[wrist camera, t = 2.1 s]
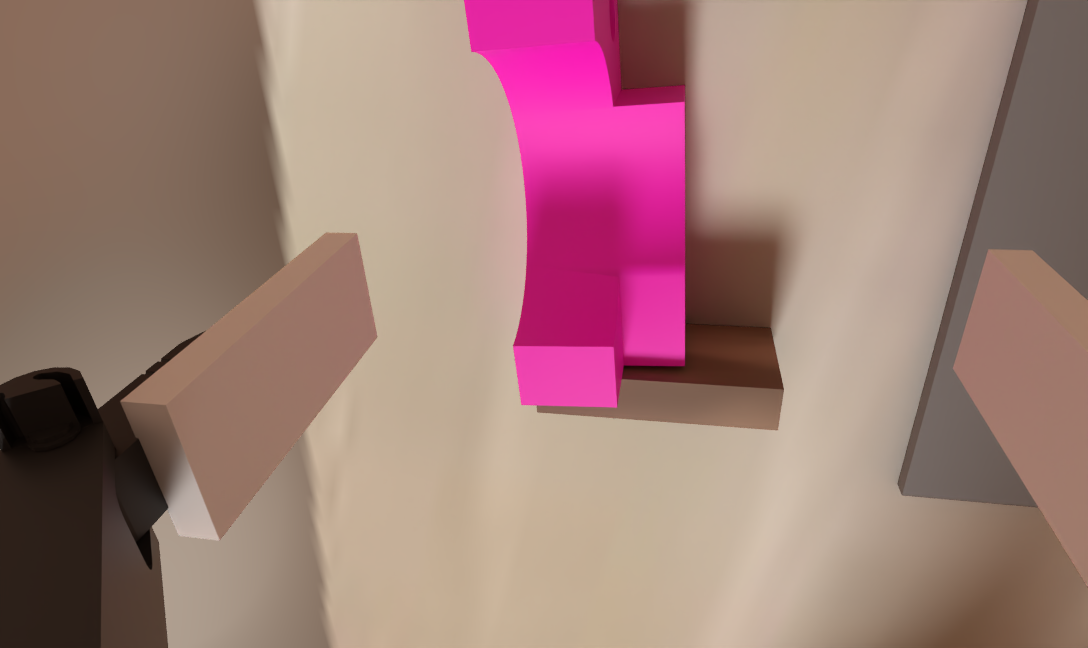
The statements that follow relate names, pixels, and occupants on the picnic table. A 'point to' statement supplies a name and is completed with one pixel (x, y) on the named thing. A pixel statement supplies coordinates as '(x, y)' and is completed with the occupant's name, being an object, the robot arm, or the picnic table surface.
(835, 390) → the picnic table surface
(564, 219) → the toy block
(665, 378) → the block
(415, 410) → the picnic table surface
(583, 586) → the picnic table surface
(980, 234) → the slate mat
